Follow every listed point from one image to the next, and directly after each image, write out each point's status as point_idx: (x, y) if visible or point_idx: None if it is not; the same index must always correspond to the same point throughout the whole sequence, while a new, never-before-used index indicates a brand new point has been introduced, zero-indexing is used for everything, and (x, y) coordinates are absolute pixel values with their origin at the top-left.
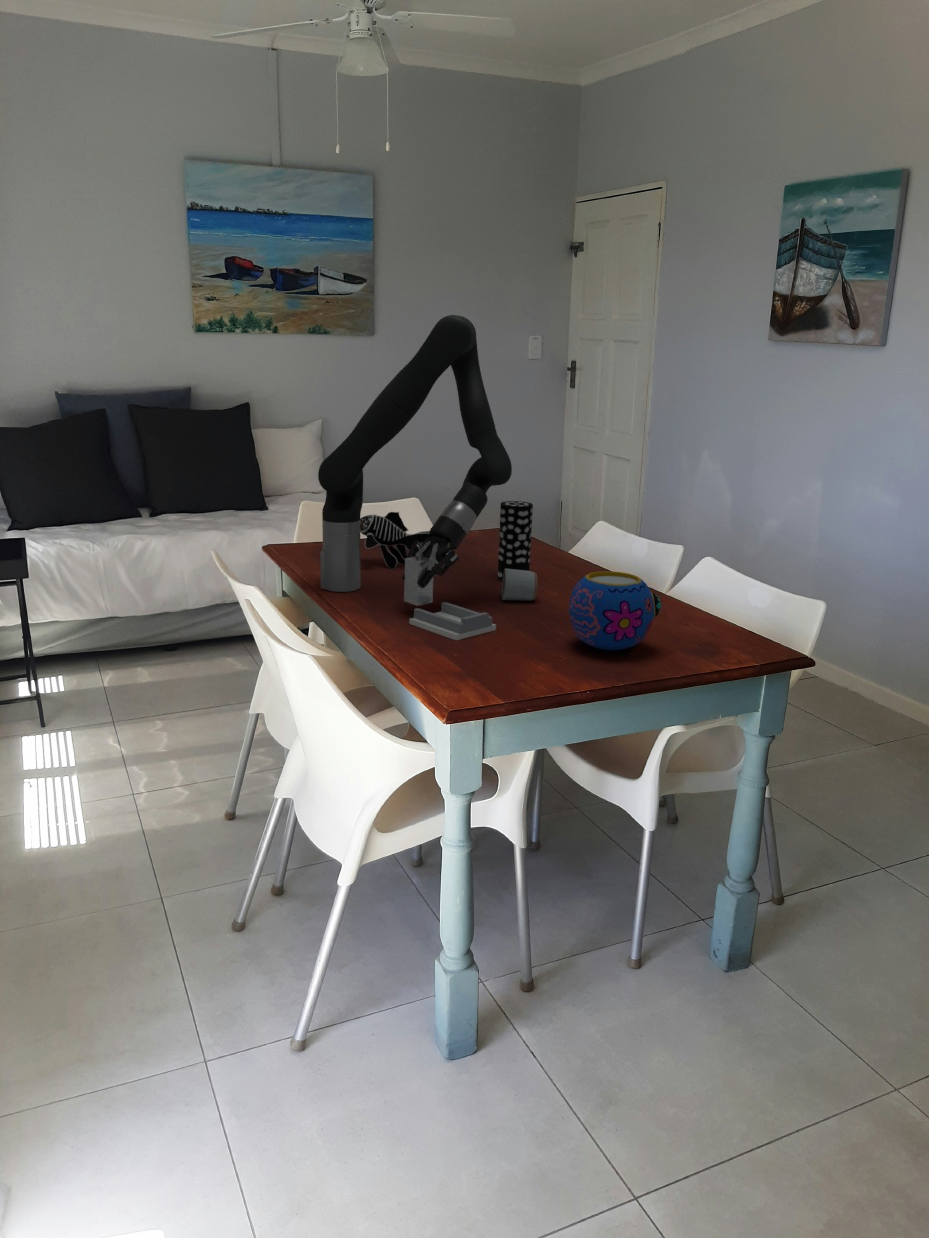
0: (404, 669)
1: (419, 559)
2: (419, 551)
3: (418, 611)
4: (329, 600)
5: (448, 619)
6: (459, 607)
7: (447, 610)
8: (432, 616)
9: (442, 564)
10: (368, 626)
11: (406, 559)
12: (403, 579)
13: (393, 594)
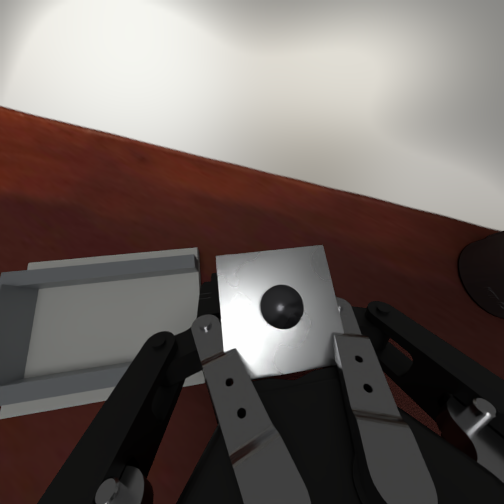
0: (5, 111)
1: (262, 293)
2: (368, 360)
3: (177, 256)
4: (410, 212)
5: (62, 273)
6: None
7: None
8: (122, 262)
9: (123, 379)
10: (230, 183)
11: (311, 247)
12: None
13: None
